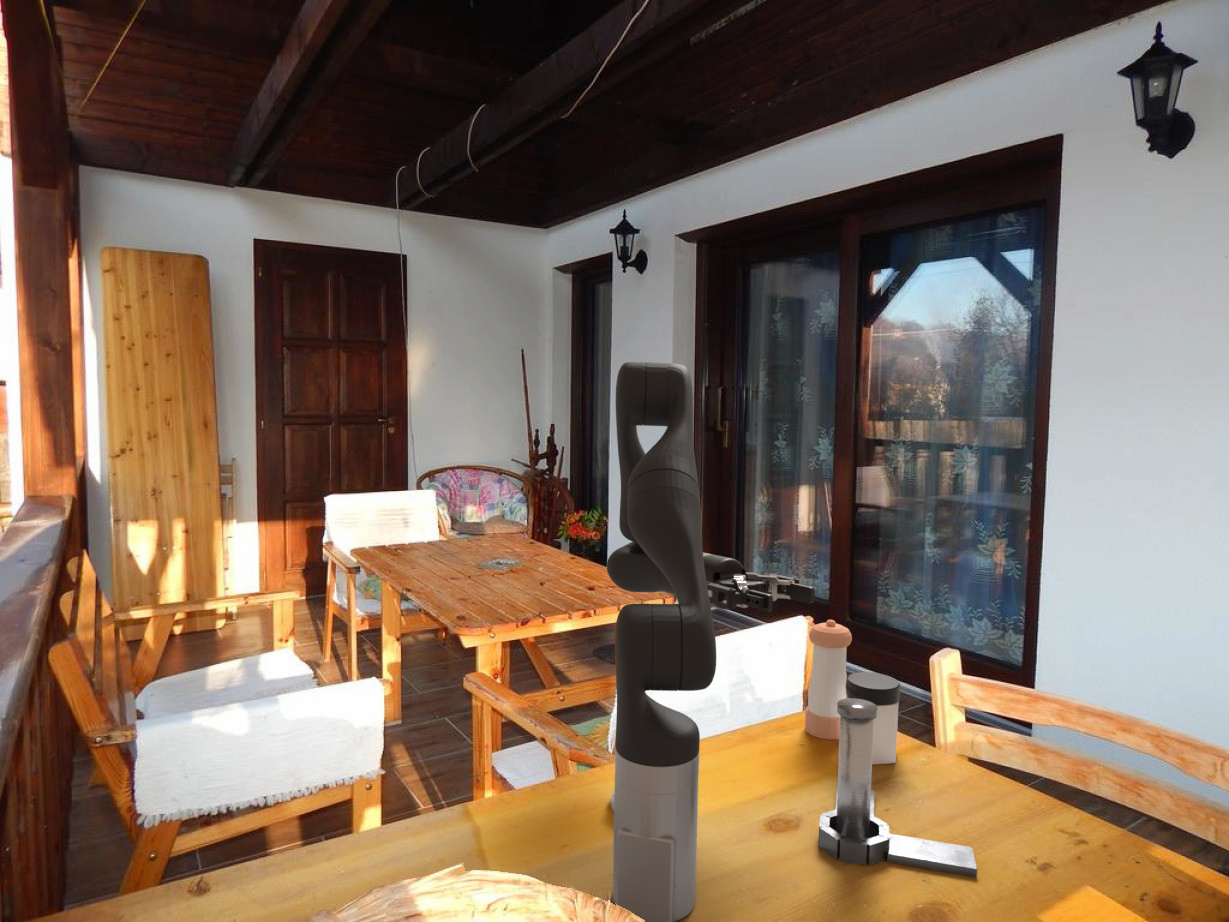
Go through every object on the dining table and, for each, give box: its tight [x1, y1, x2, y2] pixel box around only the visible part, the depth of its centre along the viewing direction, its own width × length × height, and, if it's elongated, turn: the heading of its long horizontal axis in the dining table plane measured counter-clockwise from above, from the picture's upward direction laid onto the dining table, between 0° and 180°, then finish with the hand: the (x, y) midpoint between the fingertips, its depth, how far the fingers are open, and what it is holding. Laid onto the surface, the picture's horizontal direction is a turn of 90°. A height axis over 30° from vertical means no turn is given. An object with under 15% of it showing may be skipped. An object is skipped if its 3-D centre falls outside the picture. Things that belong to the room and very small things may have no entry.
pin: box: [836, 698, 877, 840], centre depth 102 cm, size 5×5×18 cm
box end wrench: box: [817, 784, 978, 878], centre depth 106 cm, size 18×18×2 cm
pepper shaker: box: [804, 619, 853, 741], centre depth 138 cm, size 7×7×19 cm
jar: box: [846, 671, 901, 766], centre depth 129 cm, size 9×8×12 cm
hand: (792, 599), depth 109 cm, fingers open, 8 cm apart
